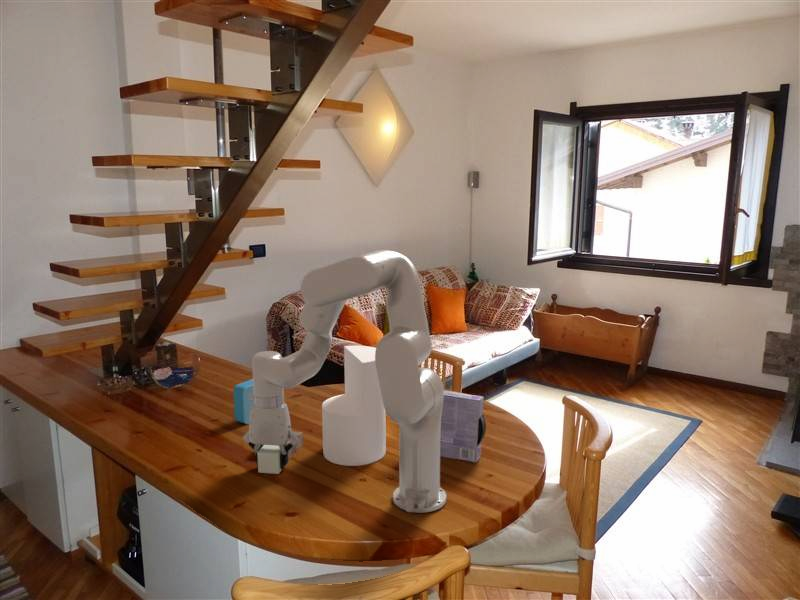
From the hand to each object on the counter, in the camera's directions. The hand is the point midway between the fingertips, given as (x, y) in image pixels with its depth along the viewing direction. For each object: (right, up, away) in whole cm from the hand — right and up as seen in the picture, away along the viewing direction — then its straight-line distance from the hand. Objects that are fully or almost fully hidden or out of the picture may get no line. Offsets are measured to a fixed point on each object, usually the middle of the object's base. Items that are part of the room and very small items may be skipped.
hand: (272, 465), depth 158 cm
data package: (-13, +5, +34) cm, 37 cm away
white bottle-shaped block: (+21, +1, +10) cm, 23 cm away
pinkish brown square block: (0, +1, +11) cm, 11 cm away
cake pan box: (+47, +1, +8) cm, 47 cm away
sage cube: (0, -1, 0) cm, 1 cm away
